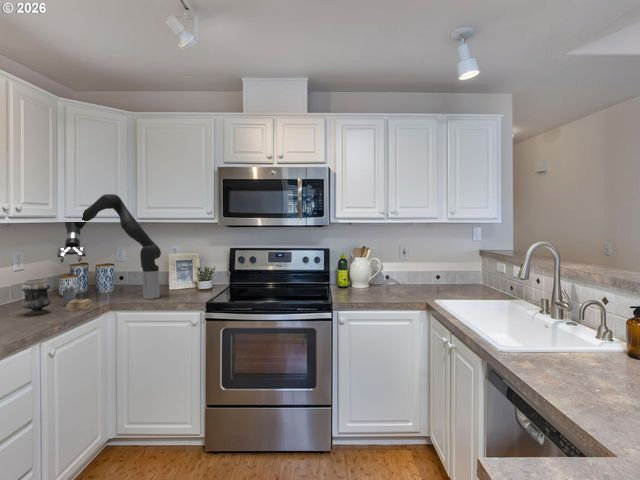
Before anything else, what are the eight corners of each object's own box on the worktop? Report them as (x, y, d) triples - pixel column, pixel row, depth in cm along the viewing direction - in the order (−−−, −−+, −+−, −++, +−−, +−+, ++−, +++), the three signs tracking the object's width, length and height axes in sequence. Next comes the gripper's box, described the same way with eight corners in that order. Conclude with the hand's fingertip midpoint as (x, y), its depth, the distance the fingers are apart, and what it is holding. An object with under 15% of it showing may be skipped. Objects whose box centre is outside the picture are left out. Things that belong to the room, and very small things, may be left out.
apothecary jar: (46, 309, 200) (45, 277, 199) (55, 312, 193) (53, 279, 192) (18, 314, 190) (17, 280, 189) (27, 317, 183) (25, 282, 182)
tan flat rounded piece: (91, 305, 210) (91, 298, 209) (88, 309, 200) (87, 302, 200) (71, 307, 206) (70, 300, 206) (66, 311, 196) (66, 303, 196)
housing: (76, 303, 214) (76, 285, 214) (74, 305, 209) (73, 286, 208) (64, 304, 212) (64, 285, 211) (62, 306, 207) (61, 287, 206)
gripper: (58, 237, 223) (55, 257, 214) (85, 237, 230) (84, 256, 220) (60, 245, 228) (57, 265, 219) (86, 244, 235) (85, 264, 225)
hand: (70, 261), depth 219 cm, fingers open, 8 cm apart
